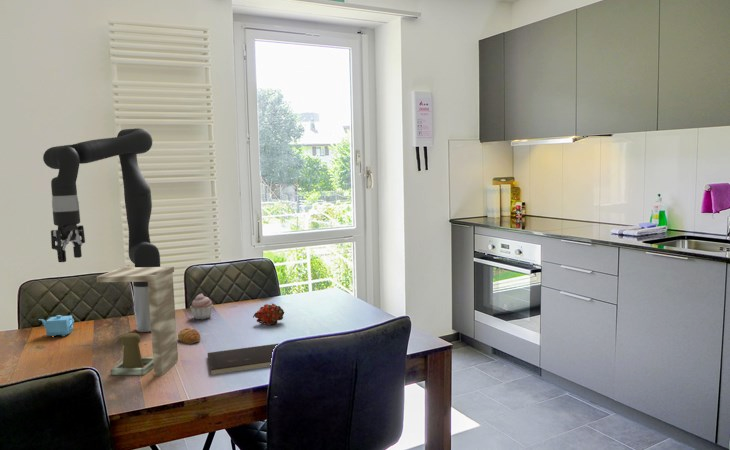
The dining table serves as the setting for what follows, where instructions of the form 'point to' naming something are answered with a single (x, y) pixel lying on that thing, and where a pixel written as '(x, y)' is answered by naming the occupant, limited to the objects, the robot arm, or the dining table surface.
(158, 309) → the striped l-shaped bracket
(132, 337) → the olive brown pepper mill
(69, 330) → the teapot
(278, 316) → the dragon fruit
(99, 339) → the dining table surface
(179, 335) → the pastry
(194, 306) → the cupcake
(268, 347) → the hardcover book
